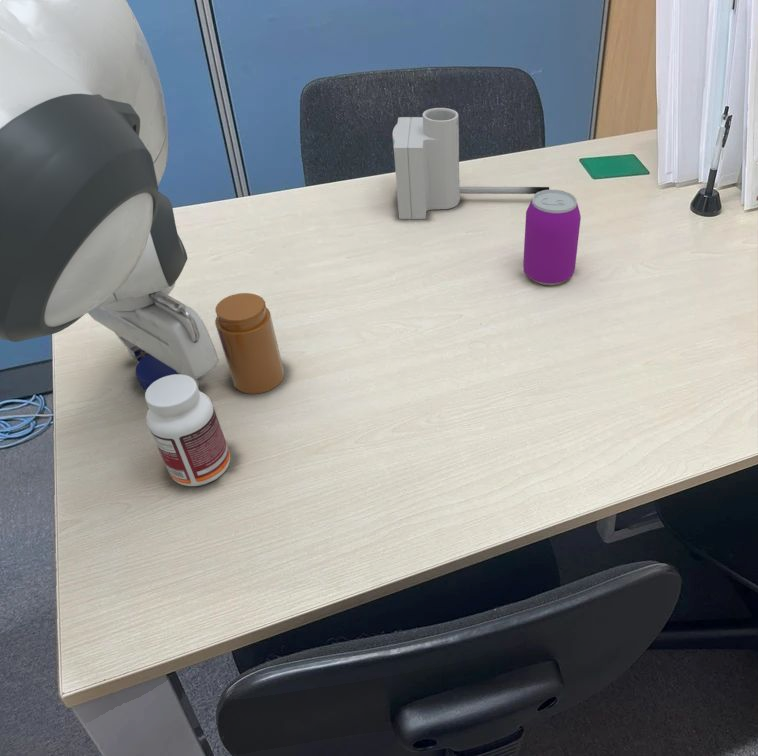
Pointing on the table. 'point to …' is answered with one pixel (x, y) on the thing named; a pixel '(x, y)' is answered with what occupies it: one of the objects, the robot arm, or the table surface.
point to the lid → (152, 371)
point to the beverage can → (551, 237)
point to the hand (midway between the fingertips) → (164, 372)
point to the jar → (249, 343)
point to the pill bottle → (186, 430)
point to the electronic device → (433, 165)
